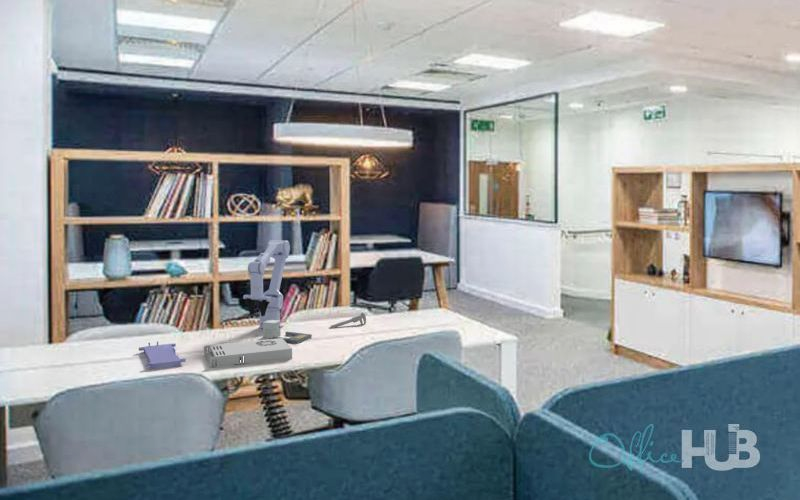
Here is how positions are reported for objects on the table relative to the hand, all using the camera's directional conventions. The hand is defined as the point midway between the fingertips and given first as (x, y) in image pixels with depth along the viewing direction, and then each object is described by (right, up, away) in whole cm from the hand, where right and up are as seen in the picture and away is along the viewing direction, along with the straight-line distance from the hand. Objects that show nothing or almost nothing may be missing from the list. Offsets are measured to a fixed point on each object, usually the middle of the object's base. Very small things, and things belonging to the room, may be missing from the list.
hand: (257, 315), depth 304 cm
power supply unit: (+4, -15, -36) cm, 39 cm away
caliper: (+41, -8, +20) cm, 46 cm away
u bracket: (+17, -10, -7) cm, 21 cm away
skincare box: (+7, -10, -2) cm, 13 cm away
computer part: (-31, -14, -38) cm, 51 cm away
